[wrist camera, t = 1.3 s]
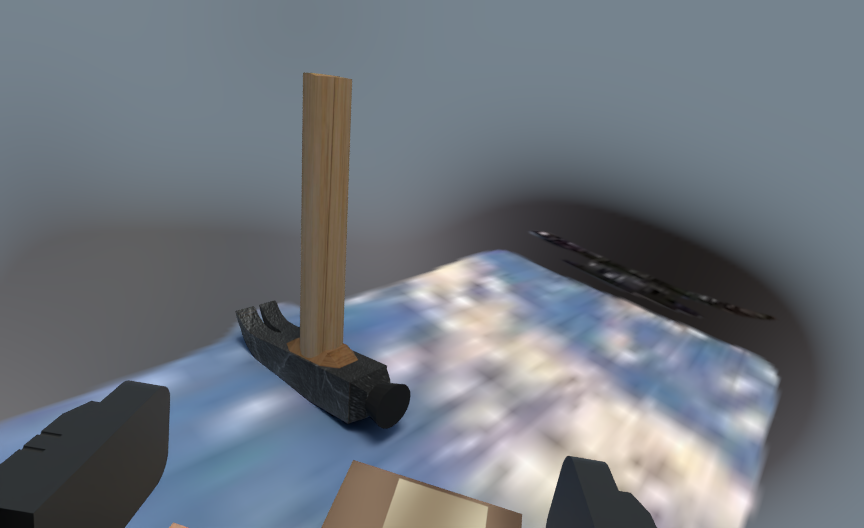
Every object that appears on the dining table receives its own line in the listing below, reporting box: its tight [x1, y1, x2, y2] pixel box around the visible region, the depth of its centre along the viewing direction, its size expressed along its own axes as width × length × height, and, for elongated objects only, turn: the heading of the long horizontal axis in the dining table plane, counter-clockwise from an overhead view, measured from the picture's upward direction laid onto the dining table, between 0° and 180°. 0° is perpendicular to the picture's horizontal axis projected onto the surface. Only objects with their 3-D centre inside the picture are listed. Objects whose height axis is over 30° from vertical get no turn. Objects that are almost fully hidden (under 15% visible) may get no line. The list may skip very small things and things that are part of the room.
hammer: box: [236, 73, 410, 429], centre depth 51 cm, size 20×5×30 cm, turn 51°
